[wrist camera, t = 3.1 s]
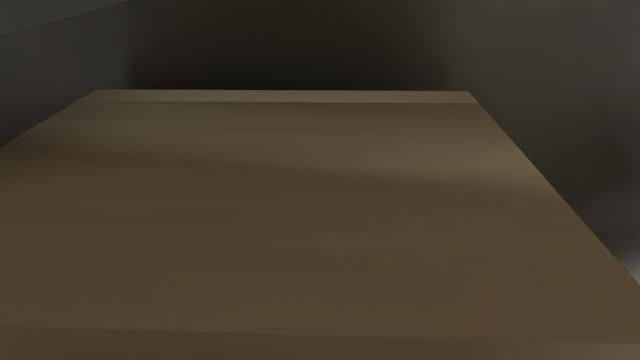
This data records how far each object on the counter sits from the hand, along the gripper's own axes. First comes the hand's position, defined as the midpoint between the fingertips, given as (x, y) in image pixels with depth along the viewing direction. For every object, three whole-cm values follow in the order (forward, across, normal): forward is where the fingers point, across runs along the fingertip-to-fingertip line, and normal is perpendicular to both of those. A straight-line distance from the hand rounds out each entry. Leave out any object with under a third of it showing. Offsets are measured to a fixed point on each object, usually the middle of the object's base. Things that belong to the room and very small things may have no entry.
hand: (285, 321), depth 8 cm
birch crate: (+1, 0, 0) cm, 1 cm away
